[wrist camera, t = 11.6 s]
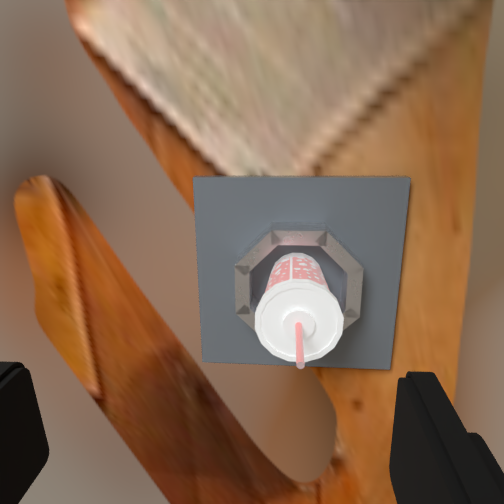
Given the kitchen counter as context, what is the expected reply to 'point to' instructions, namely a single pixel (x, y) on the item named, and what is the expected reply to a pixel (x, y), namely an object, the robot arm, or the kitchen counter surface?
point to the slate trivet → (300, 210)
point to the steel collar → (308, 237)
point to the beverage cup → (298, 311)
